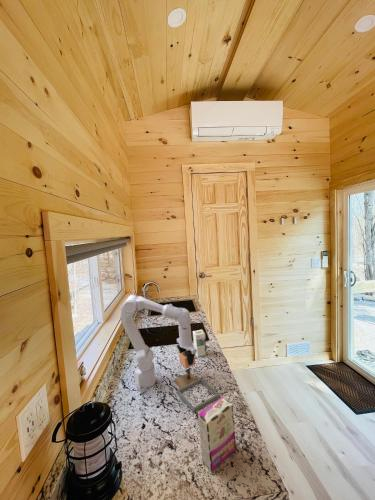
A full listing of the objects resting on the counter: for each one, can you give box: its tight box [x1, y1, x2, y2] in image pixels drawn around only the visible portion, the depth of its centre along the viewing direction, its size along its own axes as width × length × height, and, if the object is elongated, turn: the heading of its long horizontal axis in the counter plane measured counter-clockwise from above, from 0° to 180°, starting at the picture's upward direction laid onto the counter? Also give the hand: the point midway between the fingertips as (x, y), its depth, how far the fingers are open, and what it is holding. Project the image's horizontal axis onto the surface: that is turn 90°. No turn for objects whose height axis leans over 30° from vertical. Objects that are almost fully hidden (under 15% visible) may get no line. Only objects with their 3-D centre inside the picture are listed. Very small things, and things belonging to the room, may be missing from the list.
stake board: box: [172, 367, 199, 389], centre depth 112 cm, size 10×7×6 cm
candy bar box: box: [197, 396, 237, 472], centre depth 74 cm, size 11×5×16 cm, turn 126°
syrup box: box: [192, 329, 208, 358], centre depth 133 cm, size 6×6×14 cm
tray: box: [175, 377, 221, 413], centre depth 101 cm, size 14×14×2 cm
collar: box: [178, 350, 196, 370], centre depth 112 cm, size 7×6×5 cm
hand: (187, 361), depth 112 cm, fingers closed on collar, 5 cm apart
